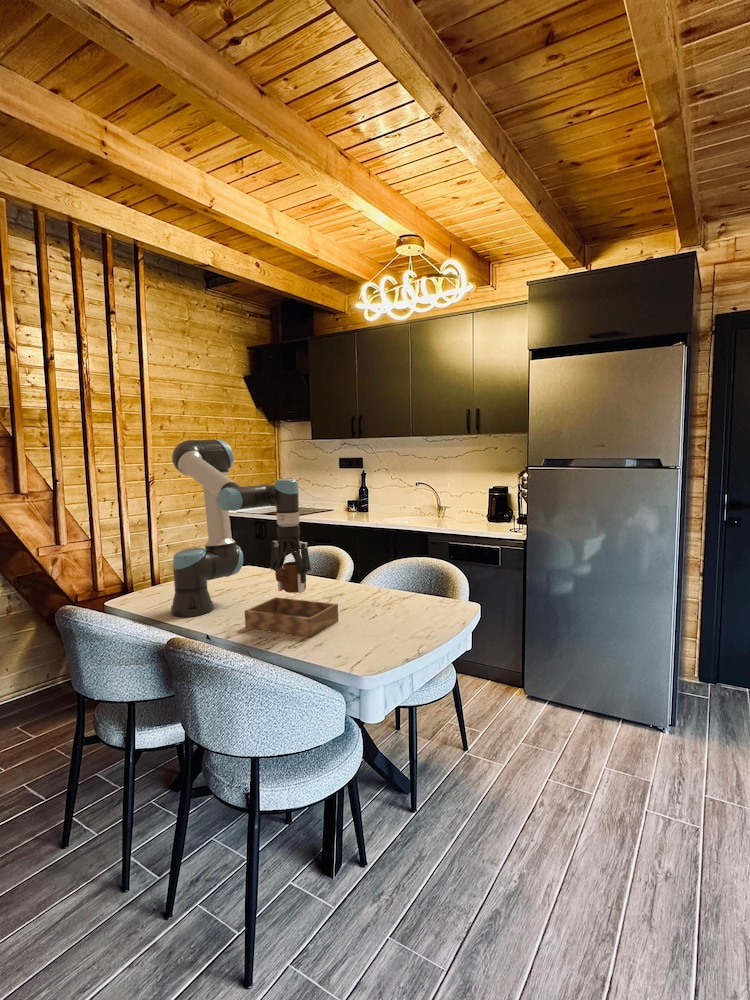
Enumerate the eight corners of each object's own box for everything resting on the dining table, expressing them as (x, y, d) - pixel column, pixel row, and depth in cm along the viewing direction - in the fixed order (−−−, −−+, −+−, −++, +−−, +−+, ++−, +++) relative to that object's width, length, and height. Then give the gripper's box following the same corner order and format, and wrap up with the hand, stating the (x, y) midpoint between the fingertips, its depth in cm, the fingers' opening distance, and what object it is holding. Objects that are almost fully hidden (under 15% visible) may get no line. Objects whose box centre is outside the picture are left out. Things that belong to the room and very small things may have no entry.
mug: (284, 597, 178) (283, 569, 177) (269, 594, 182) (268, 566, 181) (310, 589, 187) (309, 562, 186) (295, 586, 192) (294, 560, 191)
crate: (245, 628, 183) (244, 610, 182) (276, 613, 199) (275, 597, 198) (311, 637, 172) (310, 619, 171) (338, 620, 188) (337, 603, 188)
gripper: (256, 525, 183) (260, 591, 185) (308, 527, 175) (311, 596, 177) (270, 522, 190) (273, 586, 192) (320, 524, 181) (322, 590, 183)
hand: (291, 591), depth 184 cm, fingers closed on mug, 7 cm apart
